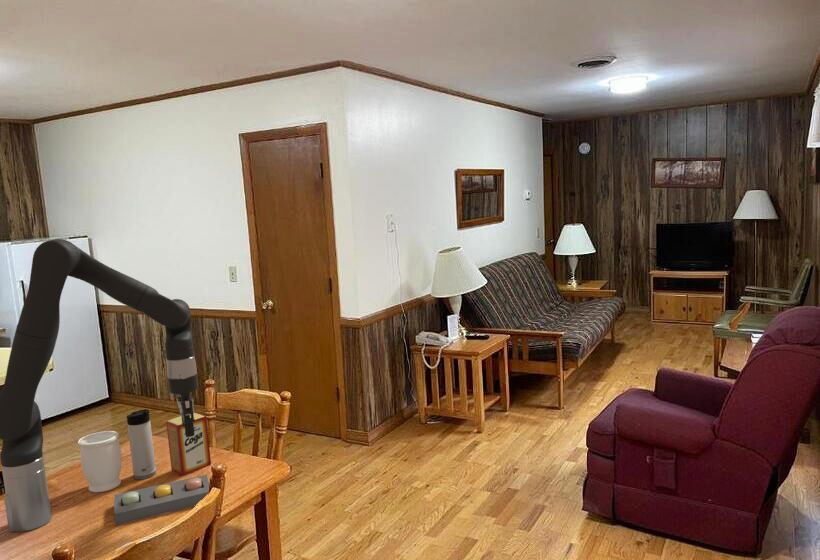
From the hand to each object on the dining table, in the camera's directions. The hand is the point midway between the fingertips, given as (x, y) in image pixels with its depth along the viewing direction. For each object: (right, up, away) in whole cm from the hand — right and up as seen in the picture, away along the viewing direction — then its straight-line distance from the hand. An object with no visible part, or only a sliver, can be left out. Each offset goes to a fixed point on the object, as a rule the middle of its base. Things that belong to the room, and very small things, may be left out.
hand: (188, 431), depth 172 cm
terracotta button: (+1, -17, +2) cm, 17 cm away
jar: (-28, -19, +12) cm, 36 cm away
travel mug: (-19, -18, +18) cm, 32 cm away
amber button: (-6, -17, -2) cm, 19 cm away
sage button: (-13, -18, -5) cm, 23 cm away
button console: (-6, -19, -1) cm, 20 cm away
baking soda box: (-7, -16, +21) cm, 28 cm away
